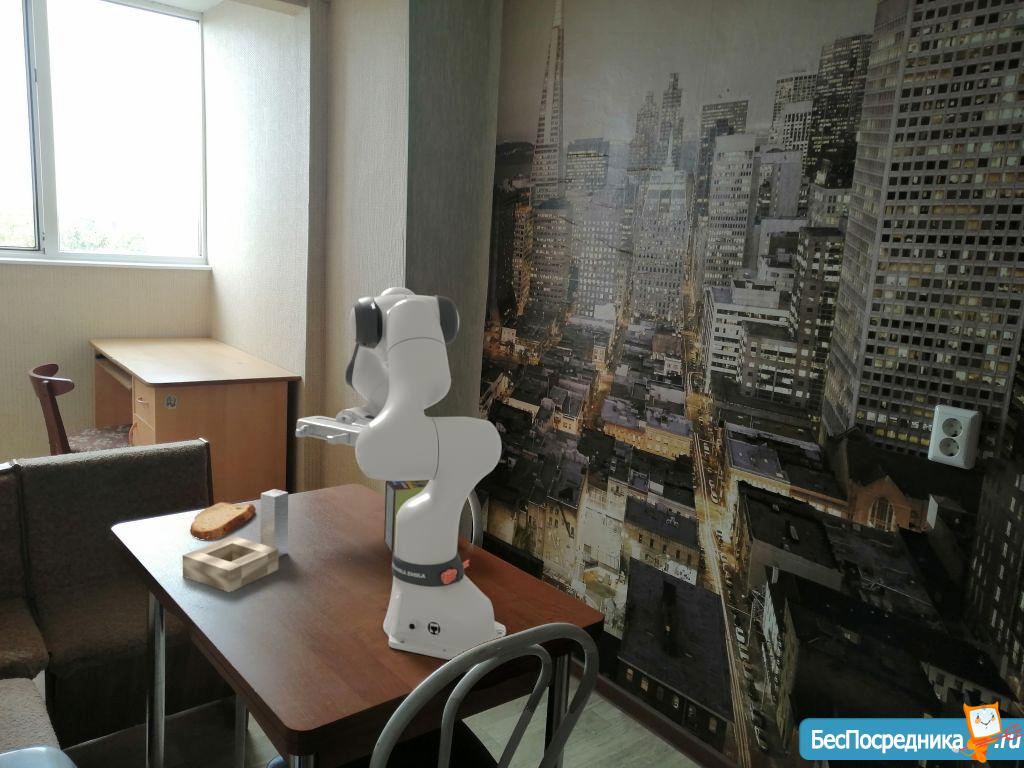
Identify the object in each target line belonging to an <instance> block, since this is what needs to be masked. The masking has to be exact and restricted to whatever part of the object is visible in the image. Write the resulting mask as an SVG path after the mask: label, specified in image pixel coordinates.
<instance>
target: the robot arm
mask: <svg viewBox="0 0 1024 768" xmlns="http://www.w3.org/2000/svg"><path fill="white" fill-rule="evenodd" d="M348 322H349V330H350V333H351V334H352V337H353V338H354V342H355V346H354V349H353V350H354V351H353V354H352V356H351V360H350V361H349V363H348V364H347V366H346V369H345V382H346V384H347V385H348V386H349V387H351V389H353V390H354V391H355V392H357V393H358V394H359V395H361V397H362V398H363V399H364V400H366V402H367V403H366V404H365V405H362V406H356V407H351V408H347V409H343V410H341V411H340V412H338V413H337V414H336V416H335V418H333V417H330V416H329V417H328V416H324V415H313V416H308V417H307V416H306V417H301V418H298V419H297V420H296V430H295V437H296V438H305V437H310V438H316V439H320V440H325V441H327V442H326V443H327V444H329V445H332V446H333V445H337V444H338V445H339V444H343V445H346V446H353V447H355V450H354V451H355V453H354V454H355V458H356V462H357V464H358V466H359V468H360V470H361V471H362V473H364V475H365V476H366V477H367V478H369V479H374V480H381V481H385V482H386V481H394V482H396V481H414V480H429V482H428V484H427V485H426V487H425V488H424V489H423V490H422V491H421V492H420V493H419V494H417V495H415V496H413V497H412V498H410V499H408V500H407V501H406V502H405V503H404V504H403V505H402V506H401V507H400V509H399V511H398V513H397V516H396V537H395V550H394V551H393V554H392V559H391V574H392V587H391V593H390V599H389V603H388V608H387V612H386V615H385V618H384V620H383V625H382V628H383V631H384V632H385V634H386V636H387V637H388V646H389V647H390V648H392V649H396V650H402V651H406V652H411V653H414V654H420V655H425V656H430V657H433V658H438V659H442V660H449V661H451V660H450V659H452V658H453V657H455V656H457V655H458V654H460V653H462V652H463V651H466V650H468V649H470V648H473V647H475V646H477V645H479V644H482V643H484V642H487V641H490V640H493V639H496V638H499V637H503V636H505V635H506V636H507V628H506V626H505V625H504V624H502V623H500V622H498V621H496V620H495V613H494V608H493V604H492V601H491V600H490V598H489V597H488V596H487V595H486V594H485V593H483V592H482V591H481V590H480V588H479V587H478V586H477V585H475V584H474V582H473V581H471V579H470V578H469V577H468V576H466V574H465V569H466V568H467V567H469V566H470V563H469V562H470V559H467V560H465V561H463V562H462V559H461V557H460V554H459V551H458V549H457V538H458V539H459V530H458V528H459V527H460V520H461V513H462V511H463V508H464V506H465V503H466V501H467V500H468V497H469V495H470V494H471V492H472V491H473V489H474V488H475V487H476V485H477V484H478V483H480V481H481V480H482V479H483V478H485V476H487V475H489V474H490V473H491V472H492V471H493V470H495V467H496V466H497V465H498V464H499V463H498V462H499V461H500V458H501V455H502V447H503V446H502V439H501V436H500V434H499V432H498V431H499V430H498V429H497V427H495V425H494V424H493V423H492V422H491V421H489V420H487V419H481V418H477V417H472V416H428V415H427V416H426V414H425V411H424V410H426V409H427V408H430V407H432V406H434V405H435V404H437V403H439V402H440V401H442V399H444V398H445V397H446V396H447V395H448V392H449V391H450V388H451V385H452V377H451V372H450V371H451V370H450V365H449V359H448V353H447V345H450V344H452V343H453V342H454V341H455V340H456V338H457V335H458V331H459V327H460V315H459V311H458V309H457V306H456V303H455V302H454V301H453V300H452V299H451V298H450V297H447V296H443V295H438V294H435V295H433V296H432V295H423V294H415V293H414V292H413V291H412V290H411V289H408V288H407V287H403V286H392V287H389V288H387V289H385V290H384V291H382V292H381V293H380V295H379V296H373V295H370V296H363V297H361V298H358V299H356V301H355V302H354V303H353V305H352V309H351V311H350V314H349V320H348ZM382 361H384V362H387V365H388V366H387V365H386V364H384V363H383V362H382Z"/></svg>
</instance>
